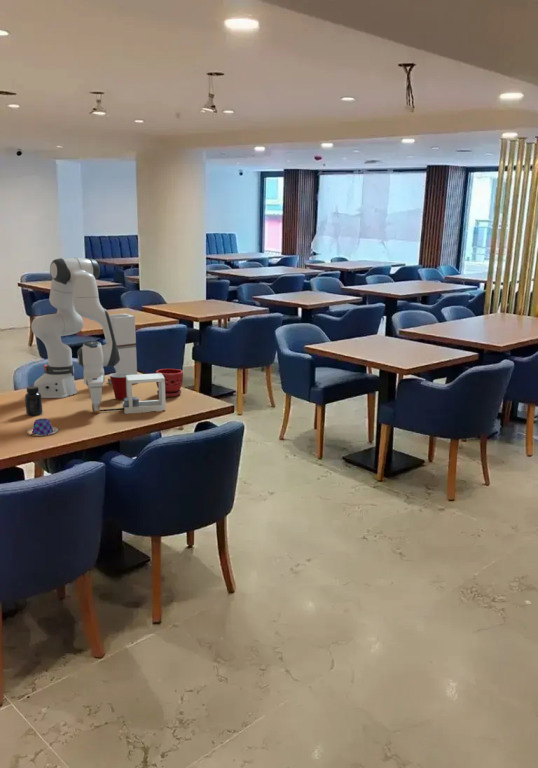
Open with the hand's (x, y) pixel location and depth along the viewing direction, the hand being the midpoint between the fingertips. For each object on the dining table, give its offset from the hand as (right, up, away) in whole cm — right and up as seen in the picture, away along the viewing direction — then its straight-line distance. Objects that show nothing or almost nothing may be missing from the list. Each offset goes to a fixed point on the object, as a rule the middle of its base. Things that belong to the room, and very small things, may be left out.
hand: (95, 408), depth 305 cm
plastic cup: (+7, +4, +24) cm, 25 cm away
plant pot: (+28, +6, +31) cm, 42 cm away
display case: (+1, +11, +52) cm, 53 cm away
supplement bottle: (-26, -2, -2) cm, 26 cm away
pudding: (-15, -9, -26) cm, 31 cm away
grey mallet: (+8, -1, +3) cm, 9 cm away
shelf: (+20, 0, +6) cm, 21 cm away
